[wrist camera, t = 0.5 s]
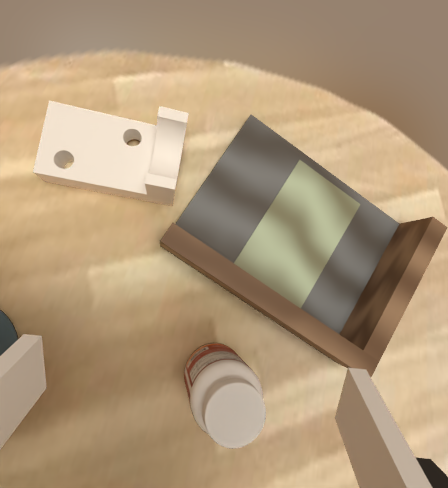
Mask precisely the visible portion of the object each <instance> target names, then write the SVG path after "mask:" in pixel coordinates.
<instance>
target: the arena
mask: <svg viewBox="0 0 448 488" xmlns="http://www.w3.org/2000/svg"><path fill="white" fill-rule="evenodd" d="M446 229H447V227H446V226H445V225H443V224H442V223H441V222H439V221H438V220H437V219H435V218H434V217H430V218H425V219H420V220H416V221H411V222H406V223H401V224H399V223H398V222H396V221H395V220H393V219H392V218H391V217H389V216H388V215H387V214H385V213H384V212H383V211H381V210H380V209H379V208H377V207H376V206H374V205H373V204H372V203H370V202H369V201H368V200H366V199H365V198H364V197H362V196H361V195H360V194H358V193H357V192H356V191H354V190H353V189H351V188H350V187H349V186H347V185H346V184H345V183H343V182H342V181H341V180H339V179H338V178H337V177H335V176H334V175H332V174H331V173H330V172H328V171H327V170H326V169H324V168H323V167H322V166H320V165H319V164H318V163H316V162H315V161H313V160H312V159H311V158H309V157H308V156H307V155H305V154H304V153H303V152H301V151H300V150H299V149H297V148H296V147H294V146H293V145H292V144H290V143H289V142H288V141H286V140H285V139H284V138H282V137H281V136H280V135H278V134H277V133H275V132H274V131H273V130H271V129H270V128H269V127H267V126H266V125H265V124H263V123H262V122H261V121H259V120H258V119H257V118H255V117H254V116H252V115H250V117H249V118H248V119H247V121H246V122H245V124H244V125H243V127H242V128H241V130H240V131H239V133H238V134H237V135H236V137H235V138H234V140H233V141H232V143H231V144H230V146H229V147H228V148H227V150H226V151H225V153H224V154H223V156H222V157H221V159H220V160H219V161H218V163H217V164H216V166H215V167H214V169H213V170H212V172H211V173H210V175H209V176H208V177H207V179H206V180H205V182H204V183H203V185H202V186H201V188H200V189H199V190H198V192H197V193H196V195H195V196H194V198H193V199H192V201H191V202H190V203H189V205H188V206H187V208H186V209H185V211H184V212H183V214H182V215H181V217H180V218H179V219H178V221H177V222H176V224H174V223H172V225H171V226H170V228H169V229H168V230H167V232H166V233H165V235H164V236H163V238H162V239H161V241H160V246H161V247H162V248H164V249H165V250H167V251H168V252H170V253H171V254H173V255H174V256H176V257H177V258H179V259H180V260H182V261H183V262H185V263H187V264H188V265H190V266H191V267H193V268H194V269H196V270H197V271H199V272H200V273H202V274H203V275H205V276H206V277H208V278H209V279H211V280H212V281H214V282H215V283H217V284H218V285H220V286H221V287H223V288H224V289H226V290H227V291H229V292H230V293H232V294H234V295H235V296H237V297H238V298H240V299H241V300H243V301H244V302H246V303H247V304H249V305H250V306H252V307H253V308H255V309H256V310H258V311H259V312H261V313H262V314H264V315H265V316H267V317H268V318H270V319H271V320H273V321H274V322H276V323H277V324H279V325H281V326H282V327H284V328H285V329H287V330H288V331H290V332H291V333H293V334H294V335H296V336H297V337H299V338H300V339H302V340H303V341H305V342H306V343H308V344H309V345H311V346H312V347H314V348H315V349H317V350H318V351H320V352H321V353H323V354H324V355H326V356H328V357H329V358H331V359H332V360H334V361H335V362H337V363H338V364H340V365H342V366H344V367H346V368H356V369H366V370H367V372H368V374H369V376H370V377H372V375H373V373H374V371H375V369H376V367H377V365H378V363H379V361H380V359H381V357H382V355H383V353H384V351H385V349H386V347H387V345H388V343H389V341H390V339H391V337H392V335H393V333H394V331H395V329H396V327H397V325H398V324H399V322H400V320H401V318H402V316H403V314H404V312H405V310H406V308H407V306H408V304H409V302H410V300H411V298H412V296H413V294H414V292H415V290H416V288H417V286H418V284H419V282H420V280H421V278H422V276H423V274H424V272H425V270H426V268H427V267H428V265H429V263H430V261H431V259H432V257H433V255H434V253H435V251H436V249H437V247H438V245H439V243H440V241H441V239H442V237H443V235H444V233H445V231H446Z"/></svg>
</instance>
